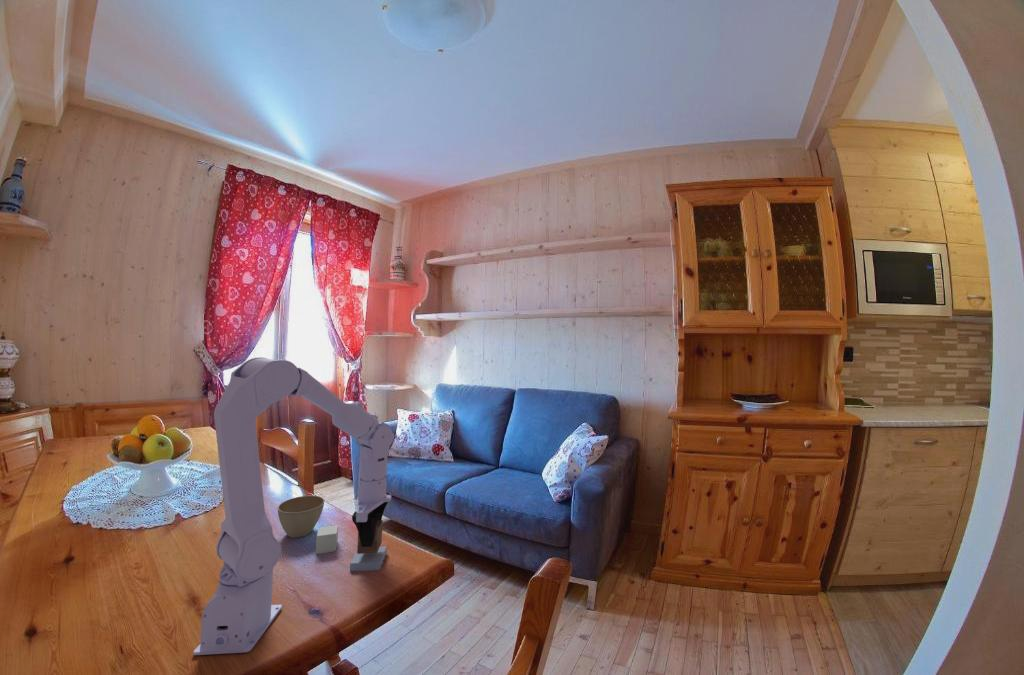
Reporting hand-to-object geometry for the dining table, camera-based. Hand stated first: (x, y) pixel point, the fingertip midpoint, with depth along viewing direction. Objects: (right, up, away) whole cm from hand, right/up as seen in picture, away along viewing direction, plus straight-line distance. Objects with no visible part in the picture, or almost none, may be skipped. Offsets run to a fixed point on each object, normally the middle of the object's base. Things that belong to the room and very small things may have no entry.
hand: (369, 539), depth 77 cm
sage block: (-12, -5, +5) cm, 13 cm away
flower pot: (-21, -5, +11) cm, 24 cm away
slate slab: (0, -5, 0) cm, 5 cm away
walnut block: (0, -2, 0) cm, 2 cm away
